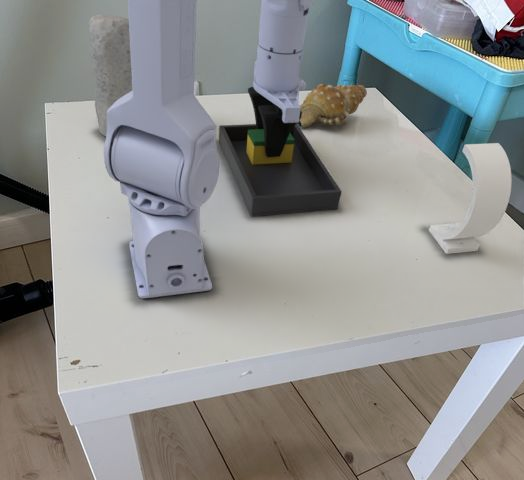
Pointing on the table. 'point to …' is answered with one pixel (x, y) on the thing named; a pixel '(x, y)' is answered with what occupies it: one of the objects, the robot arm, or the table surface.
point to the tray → (279, 176)
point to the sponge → (258, 149)
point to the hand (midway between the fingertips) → (269, 148)
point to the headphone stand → (479, 199)
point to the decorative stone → (110, 63)
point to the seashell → (331, 104)
